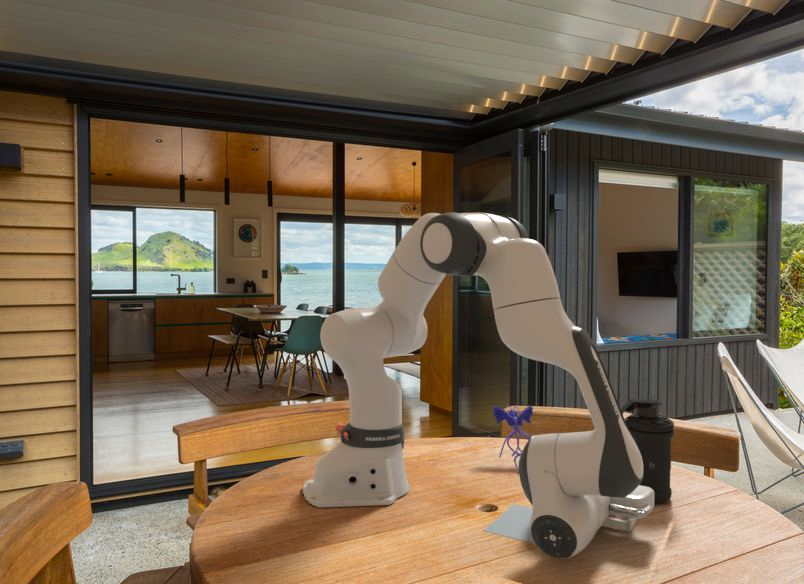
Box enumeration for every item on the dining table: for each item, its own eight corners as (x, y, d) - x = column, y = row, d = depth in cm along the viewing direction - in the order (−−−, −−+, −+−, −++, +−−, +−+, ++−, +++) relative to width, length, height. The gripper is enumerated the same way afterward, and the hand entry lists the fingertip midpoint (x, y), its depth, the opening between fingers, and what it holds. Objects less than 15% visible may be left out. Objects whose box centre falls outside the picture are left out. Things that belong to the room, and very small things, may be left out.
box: (629, 540, 106) (630, 523, 105) (556, 523, 113) (556, 507, 112) (644, 514, 117) (644, 499, 116) (576, 500, 124) (576, 486, 123)
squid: (488, 506, 146) (497, 462, 134) (472, 394, 172) (478, 348, 161) (547, 506, 146) (562, 461, 134) (522, 394, 173) (532, 348, 161)
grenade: (676, 507, 120) (679, 407, 119) (618, 503, 122) (620, 404, 121) (666, 490, 129) (668, 397, 128) (612, 486, 131) (613, 395, 130)
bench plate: (562, 559, 99) (562, 550, 99) (483, 538, 106) (483, 530, 106) (585, 528, 111) (586, 520, 110) (513, 511, 118) (513, 503, 118)
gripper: (647, 496, 98) (662, 472, 109) (526, 473, 108) (551, 453, 120) (647, 535, 98) (661, 506, 110) (525, 508, 109) (550, 484, 120)
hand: (603, 478), depth 115 cm, fingers open, 8 cm apart
